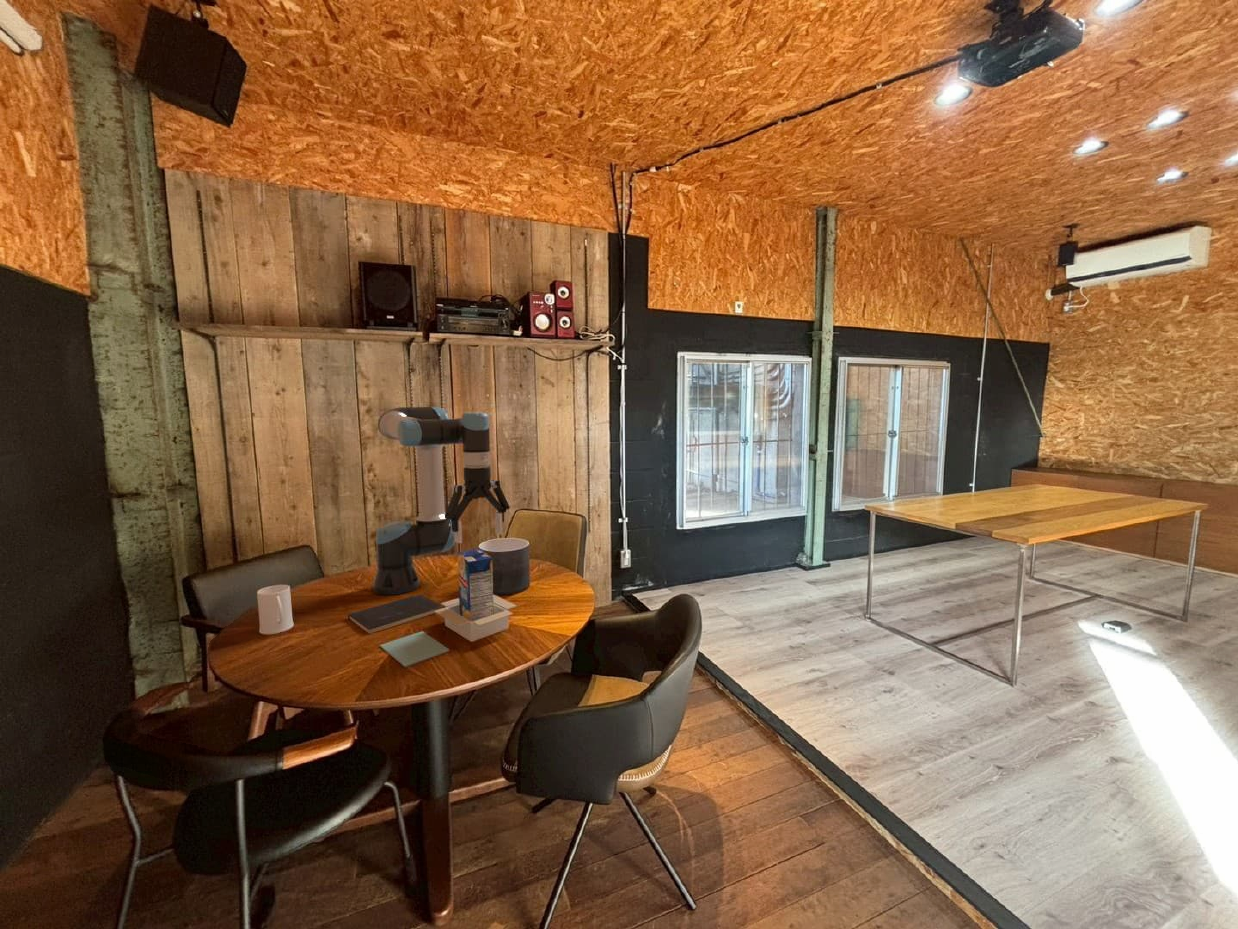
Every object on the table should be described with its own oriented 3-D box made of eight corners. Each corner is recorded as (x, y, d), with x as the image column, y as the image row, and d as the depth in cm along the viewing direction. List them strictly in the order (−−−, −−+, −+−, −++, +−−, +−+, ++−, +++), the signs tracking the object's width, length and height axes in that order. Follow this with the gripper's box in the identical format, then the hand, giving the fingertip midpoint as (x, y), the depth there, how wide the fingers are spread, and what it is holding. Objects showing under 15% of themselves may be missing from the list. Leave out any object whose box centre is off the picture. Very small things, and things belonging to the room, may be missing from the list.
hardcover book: (443, 613, 165) (443, 606, 165) (369, 636, 148) (368, 628, 148) (420, 599, 176) (419, 593, 176) (348, 620, 159) (347, 613, 159)
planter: (540, 584, 190) (539, 542, 188) (505, 599, 175) (504, 554, 173) (505, 575, 199) (504, 535, 197) (469, 589, 184) (467, 546, 182)
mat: (379, 646, 141) (379, 645, 141) (422, 632, 150) (422, 631, 149) (404, 667, 130) (404, 665, 130) (449, 650, 138) (449, 649, 138)
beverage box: (470, 636, 147) (468, 562, 144) (460, 623, 156) (457, 552, 153) (494, 631, 150) (492, 558, 148) (482, 618, 160) (480, 549, 157)
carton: (428, 625, 154) (427, 607, 153) (485, 607, 168) (484, 590, 167) (466, 650, 139) (465, 629, 138) (525, 628, 152) (525, 609, 152)
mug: (297, 633, 149) (294, 593, 148) (261, 641, 144) (258, 600, 142) (291, 619, 158) (288, 582, 157) (258, 627, 153) (254, 588, 151)
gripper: (443, 471, 137) (446, 549, 140) (520, 463, 155) (521, 532, 158) (429, 469, 142) (433, 544, 145) (505, 461, 160) (507, 528, 163)
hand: (479, 538), depth 151 cm, fingers open, 13 cm apart
